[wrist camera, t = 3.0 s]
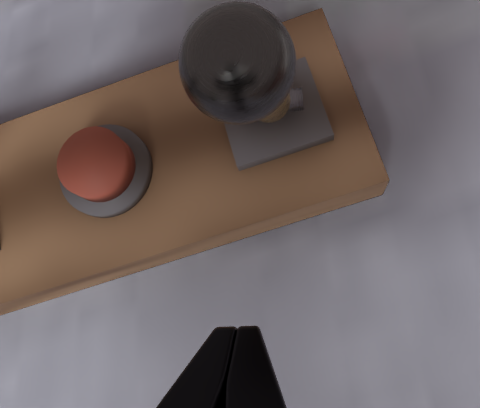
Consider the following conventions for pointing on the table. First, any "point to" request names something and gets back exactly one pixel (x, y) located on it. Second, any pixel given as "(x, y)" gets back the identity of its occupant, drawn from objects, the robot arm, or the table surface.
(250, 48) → the dark gray metal lever
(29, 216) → the switch panel
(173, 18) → the table surface
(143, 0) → the table surface
